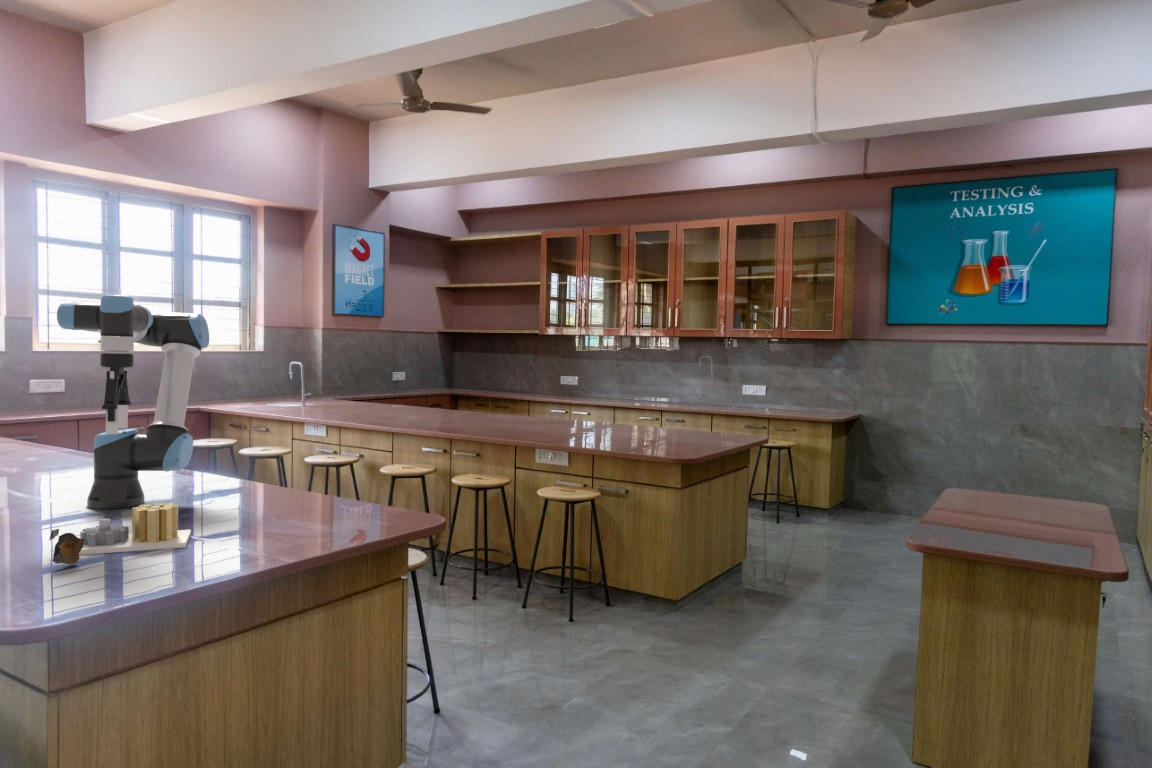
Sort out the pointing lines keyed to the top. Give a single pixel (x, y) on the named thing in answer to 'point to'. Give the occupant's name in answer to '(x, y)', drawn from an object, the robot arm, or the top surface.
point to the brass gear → (154, 522)
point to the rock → (66, 548)
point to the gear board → (123, 539)
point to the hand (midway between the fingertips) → (117, 431)
